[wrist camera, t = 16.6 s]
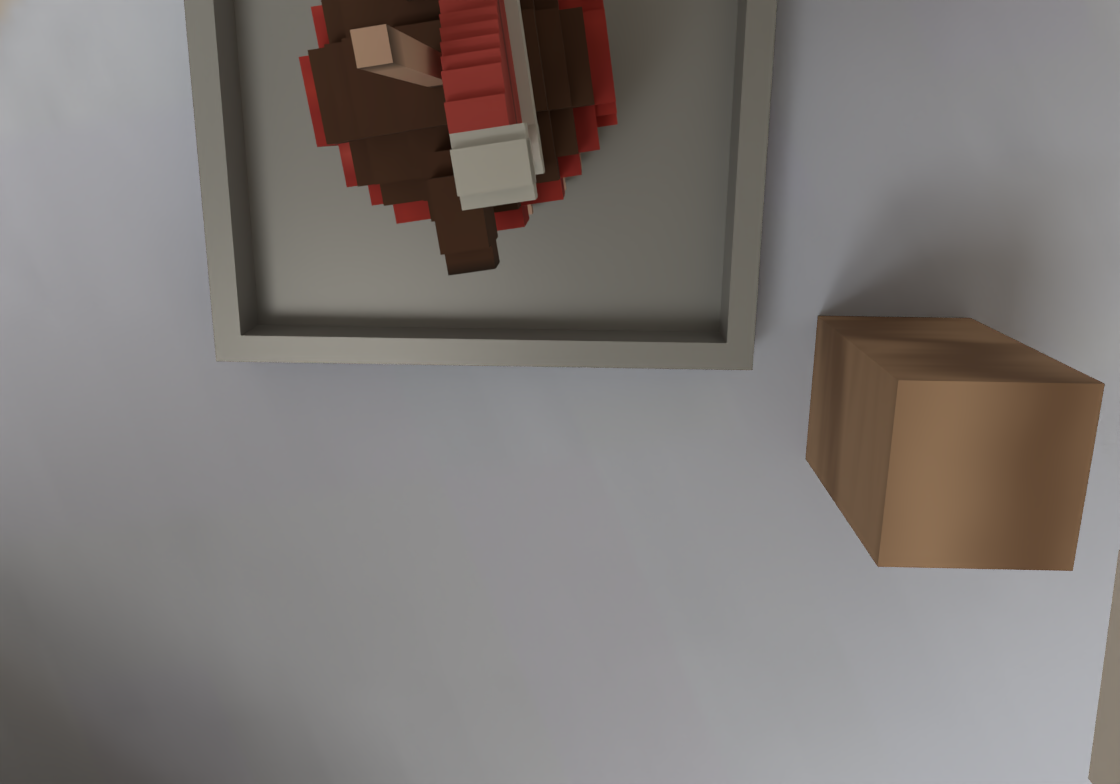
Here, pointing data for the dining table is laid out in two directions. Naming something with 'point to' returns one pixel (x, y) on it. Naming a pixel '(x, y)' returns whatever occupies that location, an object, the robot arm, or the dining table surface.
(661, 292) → the tray
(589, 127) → the cake
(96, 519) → the dining table surface
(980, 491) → the walnut block
